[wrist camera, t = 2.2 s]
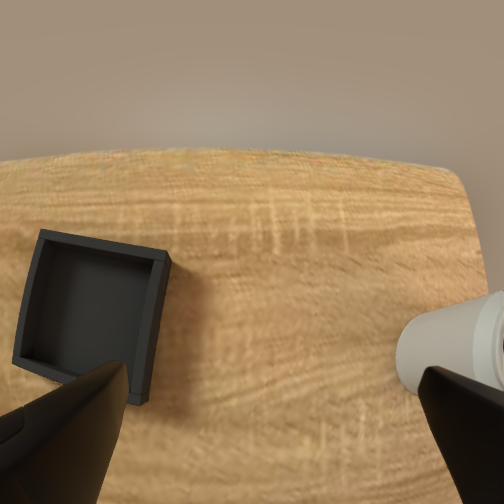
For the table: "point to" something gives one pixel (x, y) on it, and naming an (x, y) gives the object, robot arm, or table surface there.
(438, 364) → the can
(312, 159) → the table surface
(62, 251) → the black square open tray
